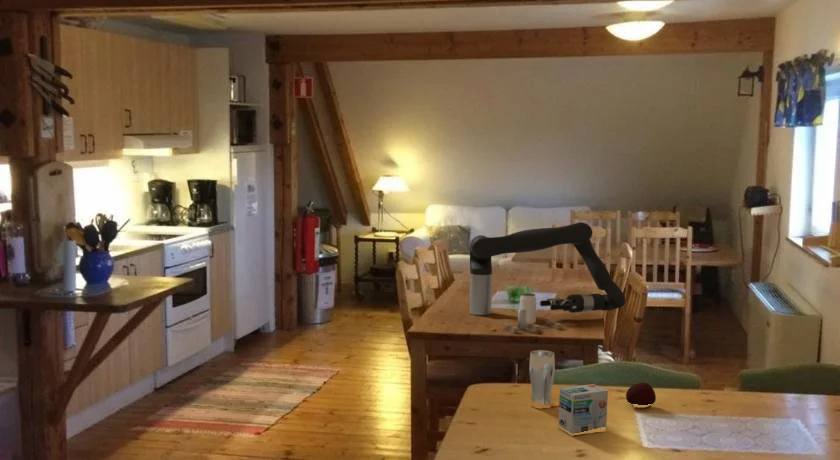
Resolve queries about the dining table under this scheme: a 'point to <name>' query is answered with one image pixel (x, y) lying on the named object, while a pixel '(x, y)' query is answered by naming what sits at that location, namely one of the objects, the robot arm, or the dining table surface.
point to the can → (529, 306)
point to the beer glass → (541, 375)
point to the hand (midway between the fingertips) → (545, 305)
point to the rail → (534, 327)
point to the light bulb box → (582, 408)
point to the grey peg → (522, 319)
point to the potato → (641, 394)
